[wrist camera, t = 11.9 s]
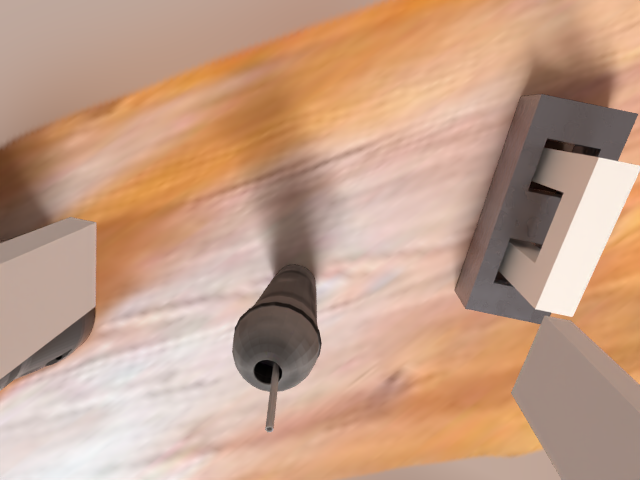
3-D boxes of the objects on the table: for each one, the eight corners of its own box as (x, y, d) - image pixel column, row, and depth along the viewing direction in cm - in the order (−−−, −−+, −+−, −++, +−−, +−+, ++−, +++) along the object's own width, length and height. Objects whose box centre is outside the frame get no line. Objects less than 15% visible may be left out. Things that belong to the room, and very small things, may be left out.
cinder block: (454, 290, 42) (465, 308, 38) (520, 96, 35) (541, 94, 32) (527, 305, 42) (545, 325, 38) (607, 113, 35) (638, 114, 32)
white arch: (517, 267, 40) (572, 316, 31) (489, 261, 40) (535, 309, 31) (562, 151, 37) (641, 166, 27) (531, 145, 37) (598, 157, 27)
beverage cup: (286, 239, 41) (234, 347, 22) (341, 278, 42) (336, 413, 23) (250, 288, 43) (174, 425, 24) (303, 324, 44) (269, 483, 25)
